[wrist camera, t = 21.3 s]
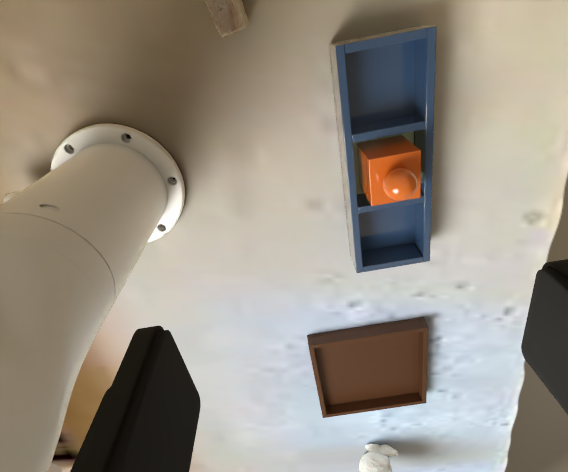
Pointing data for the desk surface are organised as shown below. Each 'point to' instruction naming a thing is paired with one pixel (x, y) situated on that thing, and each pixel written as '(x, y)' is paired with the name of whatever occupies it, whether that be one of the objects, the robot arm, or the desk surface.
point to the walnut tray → (370, 367)
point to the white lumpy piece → (377, 458)
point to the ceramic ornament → (389, 170)
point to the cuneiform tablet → (228, 15)
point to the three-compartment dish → (382, 124)
